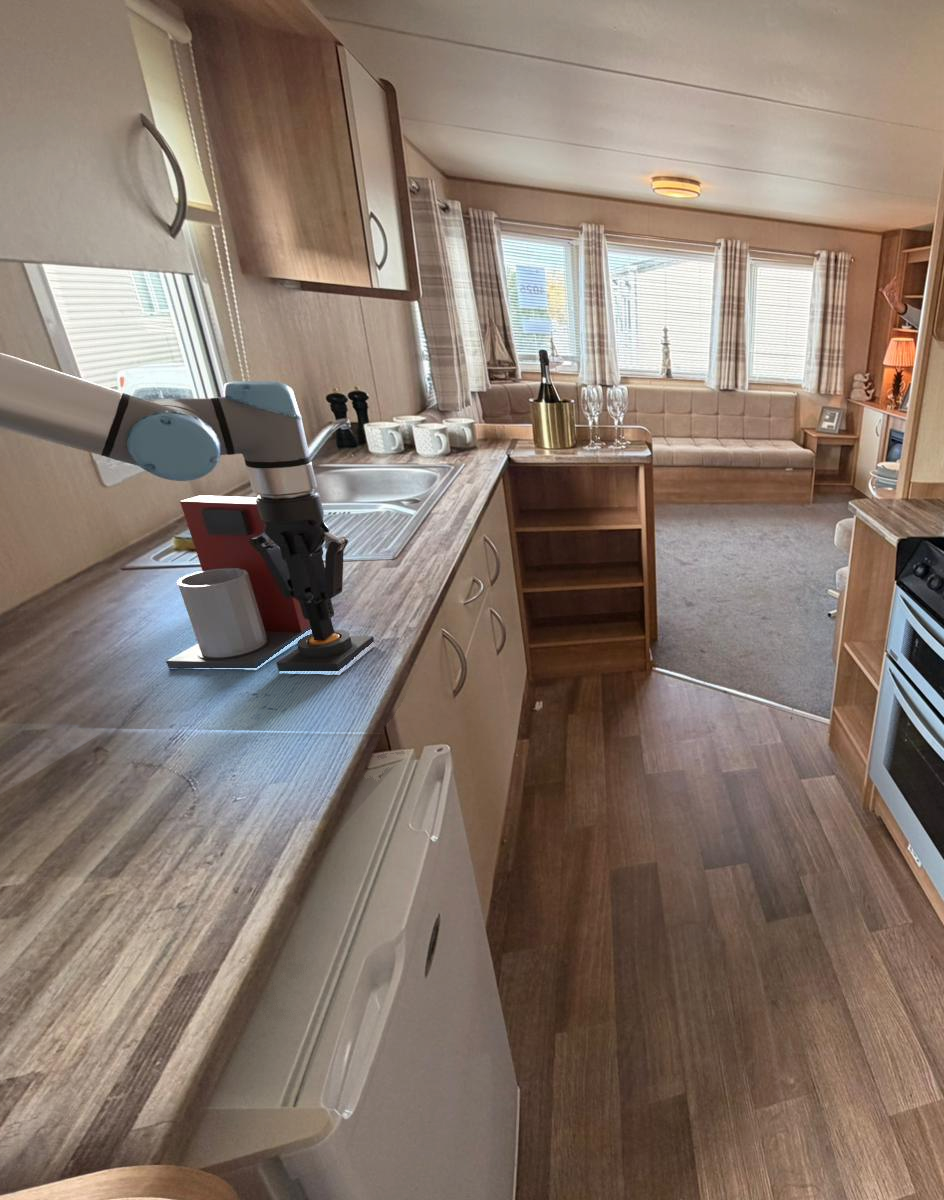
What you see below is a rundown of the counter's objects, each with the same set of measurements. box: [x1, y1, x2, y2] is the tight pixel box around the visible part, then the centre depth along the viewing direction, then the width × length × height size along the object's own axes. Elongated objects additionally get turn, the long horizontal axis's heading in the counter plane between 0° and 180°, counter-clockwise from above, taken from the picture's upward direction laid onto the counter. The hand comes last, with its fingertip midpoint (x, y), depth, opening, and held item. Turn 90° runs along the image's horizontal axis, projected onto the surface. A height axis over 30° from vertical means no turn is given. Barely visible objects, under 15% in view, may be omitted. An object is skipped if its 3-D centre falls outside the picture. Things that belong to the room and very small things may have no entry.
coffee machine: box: [165, 494, 311, 669], centre depth 101 cm, size 15×13×24 cm
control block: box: [275, 629, 375, 672], centre depth 103 cm, size 10×9×4 cm
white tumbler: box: [176, 568, 267, 658], centre depth 101 cm, size 8×8×12 cm
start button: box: [309, 633, 340, 645], centre depth 103 cm, size 4×4×2 cm
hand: (324, 636), depth 102 cm, fingers closed
